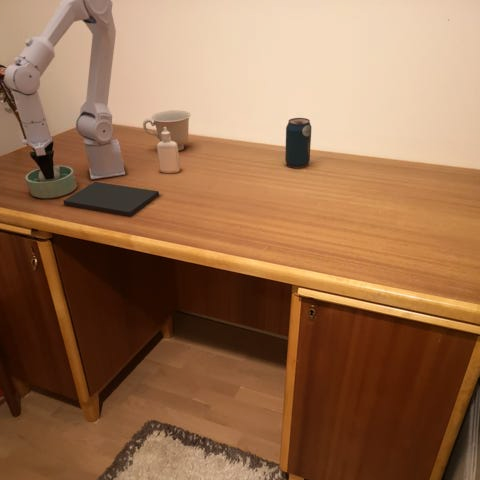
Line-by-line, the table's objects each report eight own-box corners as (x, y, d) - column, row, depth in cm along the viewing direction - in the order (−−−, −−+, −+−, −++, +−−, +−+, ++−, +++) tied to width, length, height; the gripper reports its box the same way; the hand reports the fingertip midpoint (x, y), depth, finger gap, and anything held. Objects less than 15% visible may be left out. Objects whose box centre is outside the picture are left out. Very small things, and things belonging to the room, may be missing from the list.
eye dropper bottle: (172, 175, 130) (166, 131, 122) (158, 171, 132) (151, 127, 125) (182, 170, 132) (177, 126, 125) (168, 166, 135) (162, 123, 128)
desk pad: (159, 195, 119) (158, 191, 118) (130, 216, 110) (129, 212, 109) (96, 185, 126) (95, 181, 125) (64, 205, 116) (62, 200, 116)
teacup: (144, 146, 151) (139, 114, 144) (189, 140, 154) (186, 108, 147) (150, 158, 141) (144, 124, 135) (197, 151, 145) (194, 118, 138)
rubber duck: (35, 186, 122) (26, 155, 117) (54, 177, 127) (45, 147, 122) (50, 189, 120) (41, 158, 115) (69, 180, 124) (60, 150, 119)
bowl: (76, 178, 130) (72, 163, 127) (78, 194, 121) (74, 178, 118) (31, 185, 127) (26, 169, 125) (30, 202, 118) (24, 185, 116)
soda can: (313, 166, 131) (316, 122, 124) (291, 170, 129) (293, 125, 122) (302, 158, 136) (304, 115, 129) (281, 162, 134) (281, 119, 127)
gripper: (17, 115, 118) (34, 167, 126) (15, 130, 107) (33, 187, 115) (46, 111, 119) (61, 163, 128) (46, 126, 108) (62, 182, 117)
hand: (50, 174), depth 122 cm, fingers closed on rubber duck, 5 cm apart
